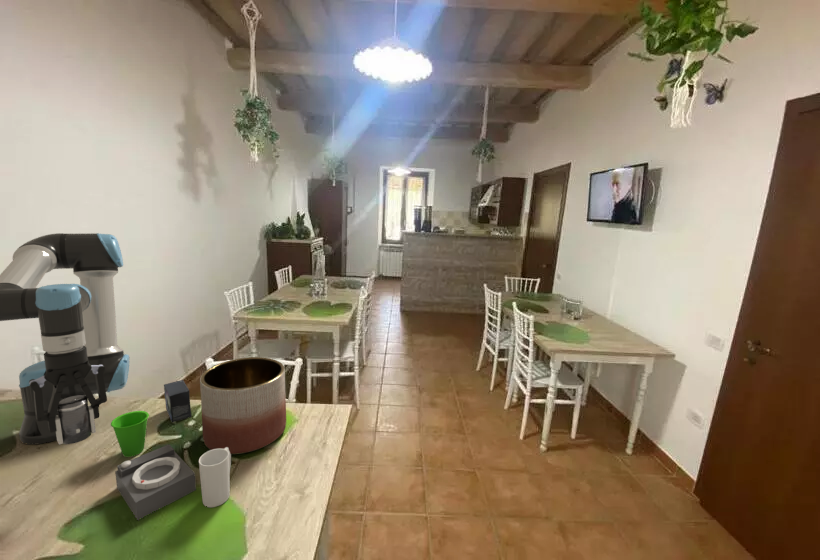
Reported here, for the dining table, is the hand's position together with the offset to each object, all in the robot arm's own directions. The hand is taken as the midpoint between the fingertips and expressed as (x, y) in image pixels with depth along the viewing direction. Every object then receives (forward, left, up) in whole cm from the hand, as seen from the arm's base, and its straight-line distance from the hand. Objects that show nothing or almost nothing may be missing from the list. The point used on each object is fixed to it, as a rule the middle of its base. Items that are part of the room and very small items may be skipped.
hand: (76, 436), depth 91 cm
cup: (-9, +13, -16) cm, 23 cm away
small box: (-22, +30, -16) cm, 41 cm away
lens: (0, 0, 0) cm, 0 cm away
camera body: (+13, +12, -16) cm, 24 cm away
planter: (+7, +40, -16) cm, 44 cm away
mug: (+27, +22, -16) cm, 38 cm away
